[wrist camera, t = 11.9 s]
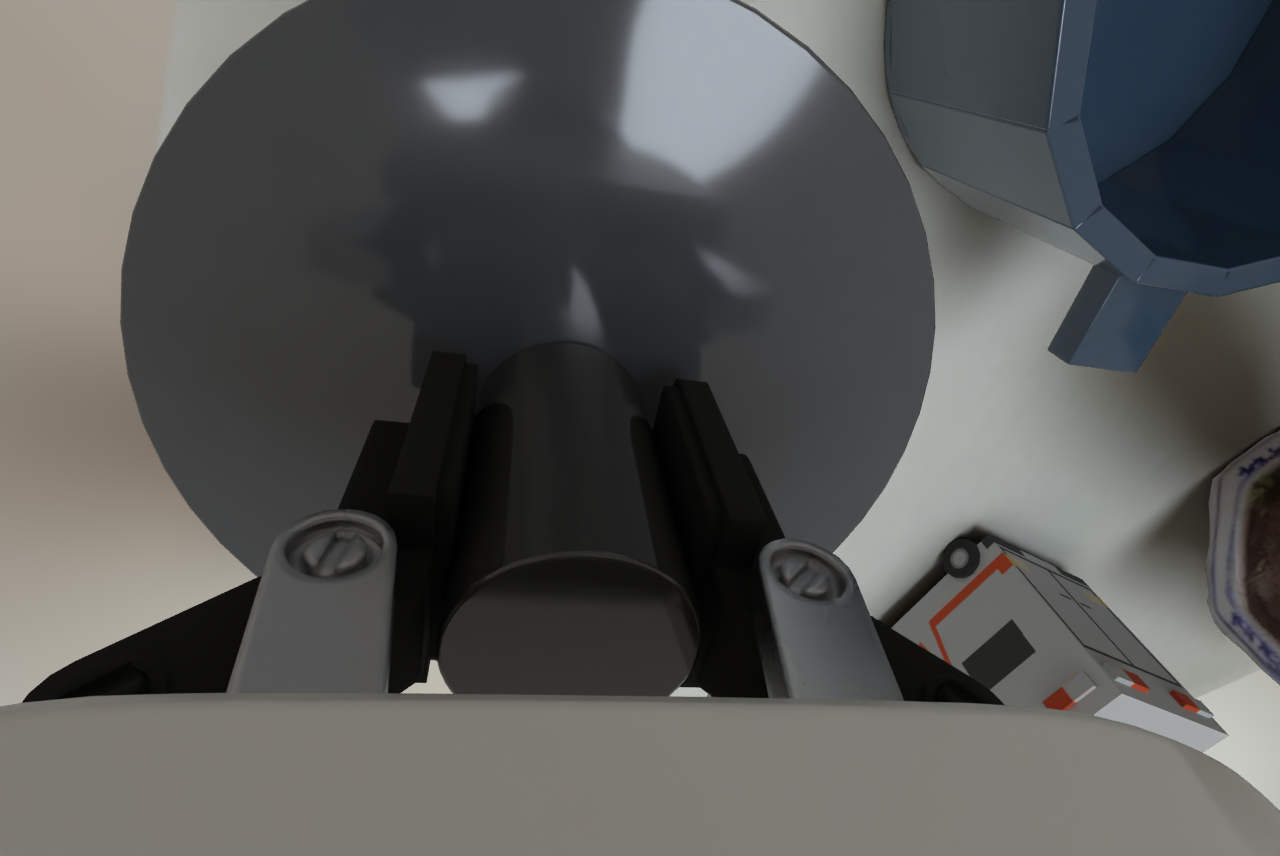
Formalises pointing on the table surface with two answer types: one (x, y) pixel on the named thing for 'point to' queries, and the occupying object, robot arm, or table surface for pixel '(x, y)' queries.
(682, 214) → the lid
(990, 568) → the toy vehicle
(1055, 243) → the pot
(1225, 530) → the potted plant
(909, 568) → the table surface
